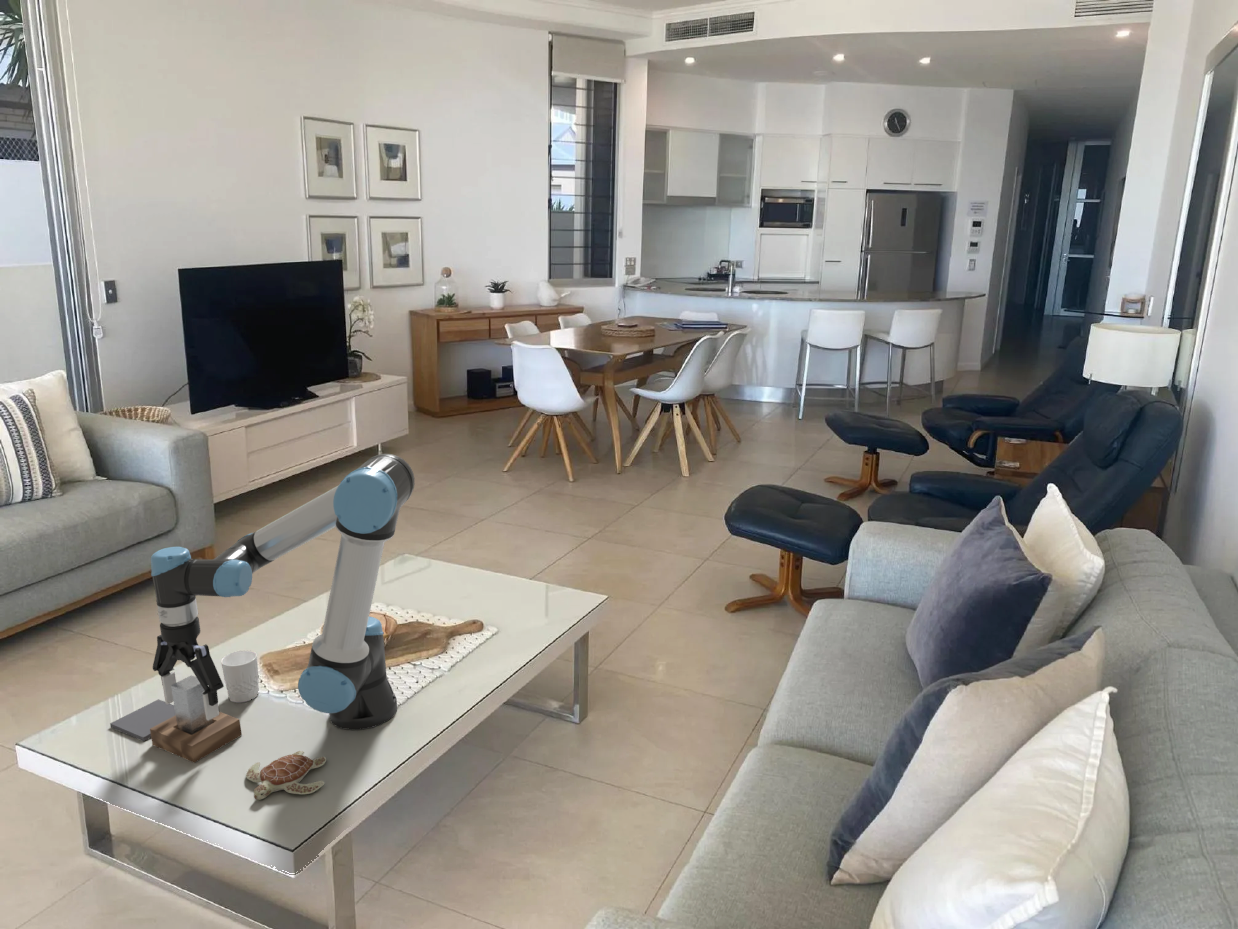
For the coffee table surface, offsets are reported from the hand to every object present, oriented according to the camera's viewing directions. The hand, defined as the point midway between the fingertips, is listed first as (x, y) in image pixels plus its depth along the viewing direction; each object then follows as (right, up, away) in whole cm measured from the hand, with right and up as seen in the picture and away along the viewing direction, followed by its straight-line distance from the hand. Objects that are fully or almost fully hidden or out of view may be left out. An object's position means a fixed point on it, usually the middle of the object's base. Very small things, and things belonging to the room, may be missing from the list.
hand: (192, 709), depth 202 cm
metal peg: (0, -7, +2) cm, 8 cm away
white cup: (+3, -2, +21) cm, 21 cm away
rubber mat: (-14, -5, +10) cm, 18 cm away
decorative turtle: (+25, -12, -12) cm, 30 cm away
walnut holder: (0, -7, +2) cm, 8 cm away
